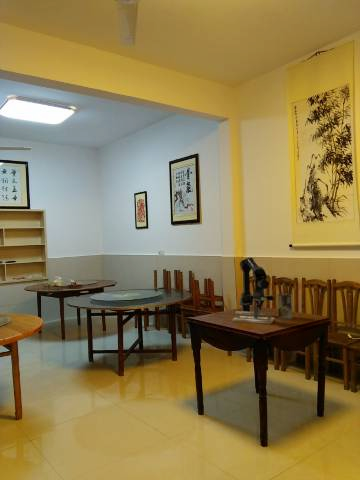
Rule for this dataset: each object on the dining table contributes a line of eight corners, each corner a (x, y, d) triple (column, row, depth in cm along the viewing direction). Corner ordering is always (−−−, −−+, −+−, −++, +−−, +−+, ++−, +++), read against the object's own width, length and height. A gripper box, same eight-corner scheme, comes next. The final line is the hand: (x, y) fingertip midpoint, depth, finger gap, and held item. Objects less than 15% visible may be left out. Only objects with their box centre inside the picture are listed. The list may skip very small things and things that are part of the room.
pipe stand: (237, 317, 277) (236, 309, 277) (274, 319, 266) (273, 311, 266) (232, 321, 266) (231, 312, 266) (270, 323, 255) (270, 314, 255)
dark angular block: (255, 316, 268) (255, 305, 268) (258, 316, 267) (258, 305, 267) (254, 318, 263) (253, 306, 263) (257, 318, 262) (256, 306, 262)
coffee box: (292, 316, 273) (291, 293, 273) (292, 318, 267) (291, 295, 267) (279, 316, 276) (278, 293, 276) (278, 318, 270) (277, 295, 270)
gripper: (242, 288, 260) (243, 311, 260) (270, 289, 252) (271, 313, 253) (246, 286, 270) (247, 308, 271) (274, 286, 263) (275, 309, 263)
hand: (260, 310), depth 264 cm, fingers closed
